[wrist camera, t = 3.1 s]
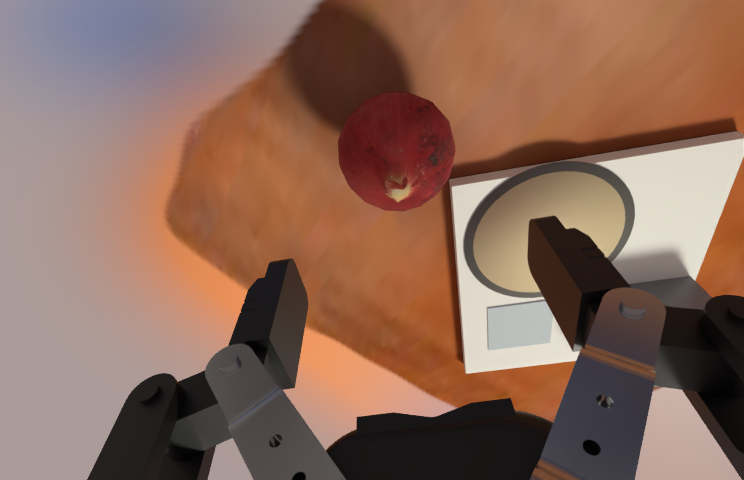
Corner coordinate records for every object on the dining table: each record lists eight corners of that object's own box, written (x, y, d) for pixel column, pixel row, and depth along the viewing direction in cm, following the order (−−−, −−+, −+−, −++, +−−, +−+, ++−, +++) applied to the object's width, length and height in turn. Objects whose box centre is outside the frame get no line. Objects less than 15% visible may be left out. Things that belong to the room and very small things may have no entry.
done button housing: (589, 289, 29) (613, 325, 26) (690, 275, 29) (725, 311, 26) (578, 349, 33) (598, 386, 30) (666, 339, 33) (694, 375, 30)
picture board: (448, 172, 25) (451, 180, 24) (740, 122, 23) (756, 129, 22) (463, 364, 36) (466, 375, 35) (661, 340, 34) (669, 351, 33)
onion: (427, 58, 21) (453, 103, 14) (453, 153, 24) (484, 226, 18) (326, 97, 22) (309, 156, 16) (364, 184, 25) (362, 262, 19)
